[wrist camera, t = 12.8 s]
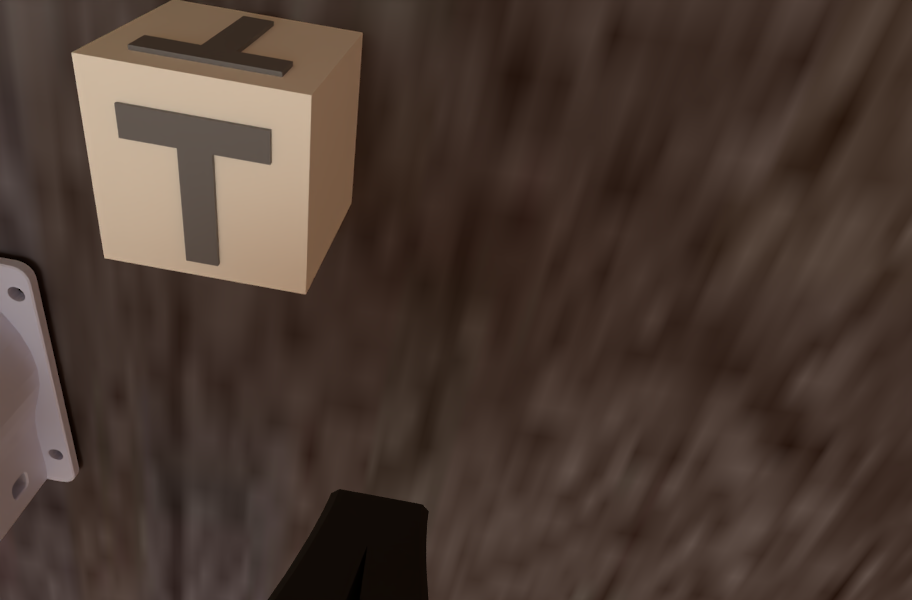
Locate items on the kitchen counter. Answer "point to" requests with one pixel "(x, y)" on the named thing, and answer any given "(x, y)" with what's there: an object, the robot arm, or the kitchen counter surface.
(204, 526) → the kitchen counter surface
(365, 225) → the kitchen counter surface
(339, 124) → the letter cube
